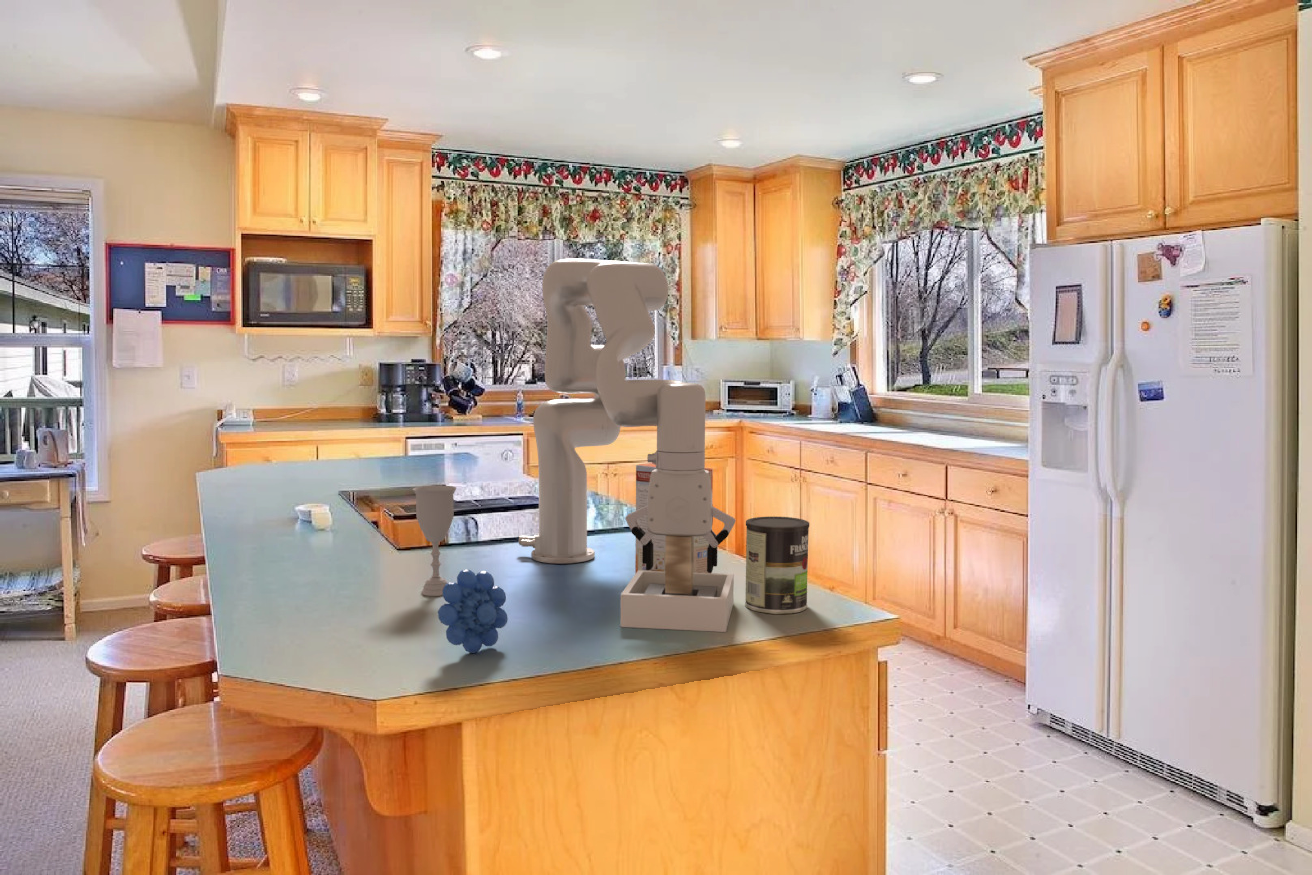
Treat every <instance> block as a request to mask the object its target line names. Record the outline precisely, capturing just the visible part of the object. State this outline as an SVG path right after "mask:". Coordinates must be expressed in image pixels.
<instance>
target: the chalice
mask: <svg viewBox="0 0 1312 875" xmlns="http://www.w3.org/2000/svg"><path fill="white" fill-rule="evenodd" d="M456 490H457V486H453V485H423V486H417V487H414V488H412V491H413V493H414V494H415V504H416V505H415V507H416V508H415V510H416V512H415V513H416V519H417V522H418V525H419V528H420V530H421V531H422V533H423V536H424V537H425V539H426V541H427V542H430V543H431V544H432V551H431V553H430V555H431V557H432V562H431V564H430V566H431V568H432V575H431V577H429V578H427V579H426V580H425V582H424V585H423V586H422V588H423V589H422V590H421V591H420V593H421V595H424V596H429V597H436V596H438V597H439V596H443V592H442V590H443V588H444V586H445V585H446V584H447V583H448V581H447V579H446V578H444V577H441V576H442V575H441V574H440V571H439V570H440V566H441V565H442V563H441V562H440V560H439V558H440V555H441V551H440V549H439V544H440V543H441V542H443V541H444V540H445V539H446V536H447V534H448V532H449V530H450V528H451V527H452V526H451V525H452V522H453V520H454V495H455V492H456Z"/></svg>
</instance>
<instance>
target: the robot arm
mask: <svg viewBox="0 0 1312 875" xmlns="http://www.w3.org/2000/svg"><path fill="white" fill-rule="evenodd" d="M544 271H545V272H544V274H543V278H542V297H543V303H544V307H545V312H546V313H545V314H546V319H547V328H546V342H545V343H546V345H545V360H544V380H545V384H546V386H547V388H548V389H549V390H550V391H551V392H554V393H558V394H570V395H571V394H572V395H573V394H574V395H575V394H594V397H593V398H562V399H561V398H557V399H551V400H548V401H544V402H542V403H541V404H539V405H538V407H536V408H535V411H534V413H533V416H532V417H533V418H532V422H533V423H532V424H533V430H534V436H535V442H536V449H537V460H538V461H537V462H538V463H537V464H538V534H534V536H529V535H519V537H518V544H519V546H521V547H524V548H526V547H531V548H533V550H532V551H531V554H530V556H531V557H530V558H531V559H533V560H534V561H536V562H539V563H540V562H541V563H546V564H559V565H560V564H563V565H565V564H576V563H577V564H578V563H582V562H588V561H590V560H593V559H594V558H595V557H596V556H595V554H596V552H595V550H594V549H592V548H591V547H587V546H588V505H587V504H588V476H587V475H588V474H587V468H586V464H585V462H584V461H583V459H582V458H581V457H580V455H579V453H577V452H576V448H581V447H584V448H585V447H598V446H599V447H601V446H608V445H612V444H613V443H614V442H615V441H616V440H618V437H619V436H620V431H621V427H623V428H636V427H656V451H655V452H654V453H653V452H652V453H648V454H647V458H646V459H647V463H655V465H656V467H657V469H655V470H653V471H652V472H651V476H650V482H649V490H648V502H647V506H645V507H643V508H641V509H639V510H637V511H636V510H634V511H633V512H631V513H629V514H627V515H626V516H625V518H624V519H625V522H626V524H627V525H628V528H629V529H630V530H631V531H630V532H631V534H632V535H633V536H634V537H635V539H636V538H637V539H638V540H639V541H640V543H641V544H642V545H643V555H642V562H643V564H646V570H651V569H652V567H653V543H652V537H653V536H654V535H668V536H703V537H704V538H705V539H706V540H707V542H708V543H709V546H708V548H707V572H708V573H713V570H714V567H716V568H717V566H718V547H719V545H721V543H722V542H724V541H725V540H726V539H727V538H728V536H729V534H730V533H731V532H732V529H733V528H734V526H735V523H736V521H737V520H736V518H735V517H733V516H731V515H729V514H727V513H726V512H724V511H722V510H720V509H718V508H716V507H715V506H713V489H712V490H711V482H710V476H709V471H707V470H705V468H706V467H705V465H706V464H705V463H706V451H705V450H706V392H705V388H704V387H703V385H701V384H699V383H695V382H694V383H693V382H683V381H681V380H676V379H626V367H625V366H626V365H625V362H624V359H627V358H630V357H631V356H633V355H636V354H637V353H638V352H640V351H642V350H644V349H645V348H647V347H648V345H649V344H650V343H651V342H652V341H653V339H654V336H655V334H656V329H655V324H654V322H653V320H652V317H651V315H650V313H649V311H650V312H655V311H659V310H660V309H662V308H663V307H664V306H665V304H666V302H667V300H668V296H669V284H668V280H667V277H666V275H665V273H664V272H663V270H662V269H661V268H660V267H659V266H658V265H656V264H654V263H648V262H633V261H624V260H623V261H621V260H608V259H607V260H604V259H594V258H593V259H589V258H588V259H587V258H562V259H557V260H555V261H553V262H551V263H550V264H549V265H548V266H547V267H546V269H545V270H544ZM585 306H593V309H594V311H595V314H596V317H597V319H598V322H599V324H600V327H601V330H602V333H603V335H604V337H605V340H606V342H605V343H604V344H591V342H592V332H593V331H592V327H593V326H592V320H591V317H590V315H589V314H588V312H587V310H586V308H585ZM645 515H647V530H648V531H647V532H646V533H645V532H644V531H643V530H642V529H641V528H640V527H639V526H638V523H637V519H639V518H641V517H643V516H645ZM714 519H717V520H718V521H719V522H722V523H723V524H724V526H723V528H722V529H721V530H720V531H719V532H718V533H717V534H716V533H715V531H714V530H713V523H714V522H713V521H714ZM711 528H712V529H711Z"/></svg>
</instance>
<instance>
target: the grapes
mask: <svg viewBox="0 0 1312 875" xmlns="http://www.w3.org/2000/svg"><path fill="white" fill-rule="evenodd" d="M442 592H443V595H442V597H443V600H444V601H445V602H447V603H444V604H442V605H440V607H439V609H438V611H437V616H438V618H437V619H438V620H439V621H440V624H443V625H444V626H447V627H446V628H447V629H446V630H445V635H446V636H445V637H446V639H447V641H448V643H450V644H451V645H453V646H460V645H462V647H463V649H464V650H465V651H466V652H468V653H469V654H476V653H478V652H479V651H480V650H481V648H482V646H486V647H493V646H494V645H496V644H497V642H498V640H499V631H498V630H497V629H502V628H504V627H505V626H506V624H508V613H507V612H506V611H505V609H504V608H501V607H502V606H503V605H504V604H505V603H506V601H507V597H506V596H507V595H506V592H505V591H504V588H501V587H500V586H497V585H496V586H495V579H494V577H493V576H492V574H491V573H490V572H487V571H485V570H482V571H479V572H477V573H475V572H474V571H472V569H471V570H470V569H462V570H461V571H459V573H458V575H457V576H456V582H455V581H454V582H453V581H451V582H450V581H449V582H447V584H446V585H445V586H444V588H443V590H442Z"/></svg>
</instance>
